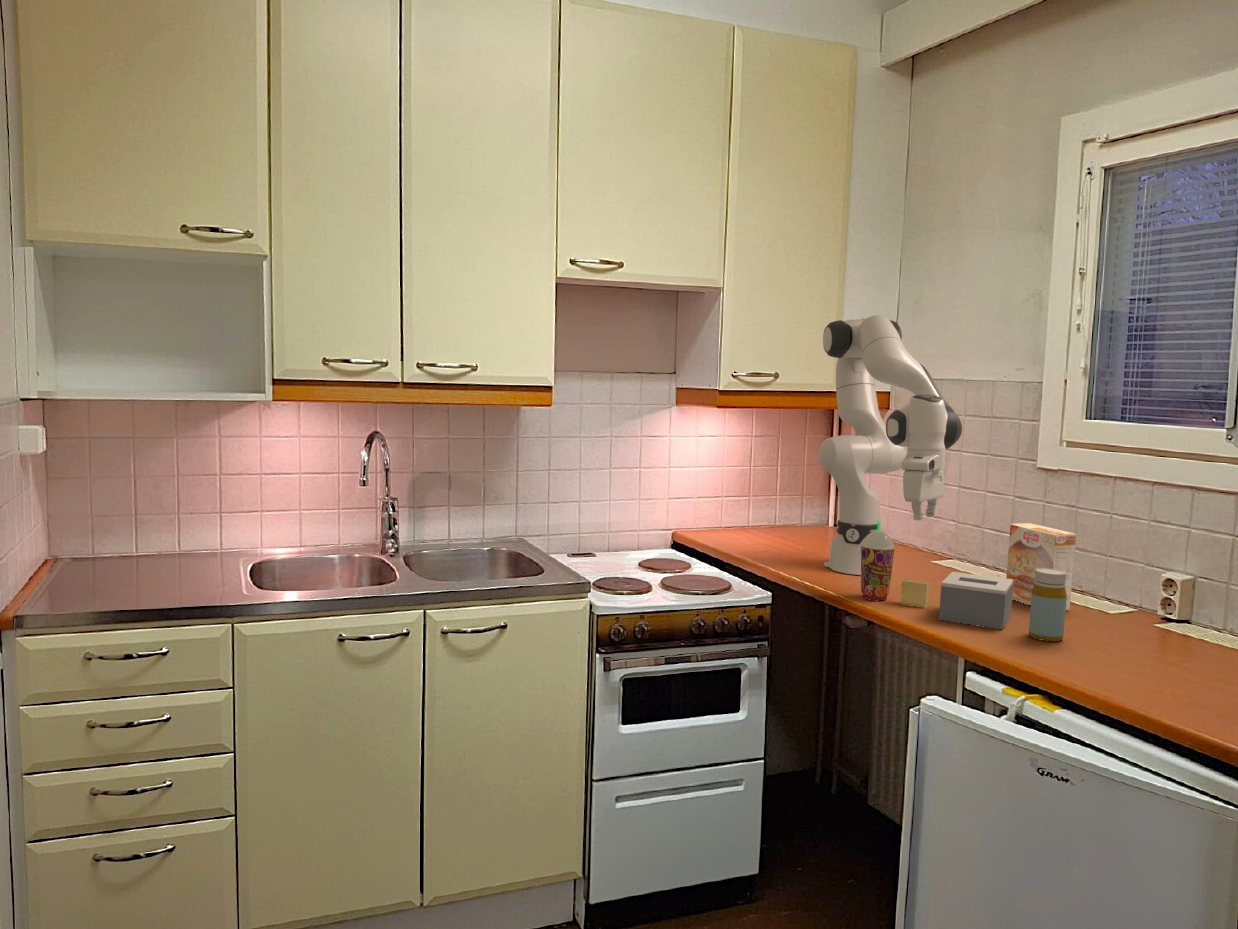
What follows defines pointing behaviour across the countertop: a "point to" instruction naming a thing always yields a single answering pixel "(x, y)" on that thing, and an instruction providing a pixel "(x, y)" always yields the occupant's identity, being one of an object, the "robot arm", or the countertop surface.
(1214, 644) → the countertop surface
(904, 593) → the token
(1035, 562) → the coffeecake box
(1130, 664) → the countertop surface
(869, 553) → the smoothie
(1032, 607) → the bottle
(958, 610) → the coin box
